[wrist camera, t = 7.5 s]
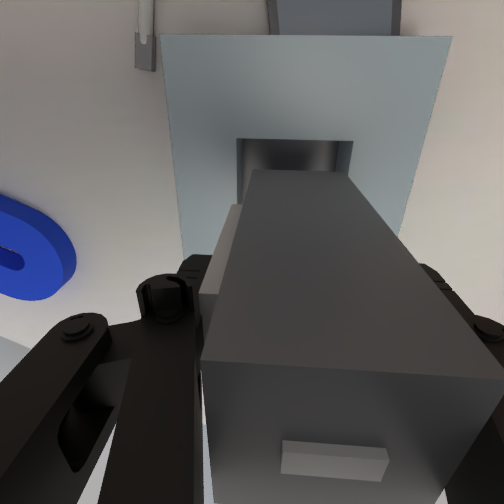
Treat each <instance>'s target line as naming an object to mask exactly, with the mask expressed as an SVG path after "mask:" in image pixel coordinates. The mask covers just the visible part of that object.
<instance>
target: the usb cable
mask: <svg viewBox="0 0 504 504" xmlns="http://www.w3.org/2000/svg"><path fill="white" fill-rule="evenodd" d="M153 6H154V0H139V31H138V33H135V68H138V69H142V70H147V71H152V72H155V57H156V38H155V37H153Z"/></svg>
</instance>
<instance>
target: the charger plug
mask: <svg viewBox="0 0 504 504" xmlns="http://www.w3.org/2000/svg"><path fill="white" fill-rule="evenodd" d="M200 364H201V374H202V384H203V395H204V405H205V415H206V425H207V435H208V446H209V456H210V466H211V477H212V486H213V497H214V503H217V504H435V502H436V501H437V499H438V497H439V496H440V494H441V493H442V491H443V489H444V488H445V486H446V485H447V483H448V482H449V480H450V479H451V477H452V475H453V474H454V472H455V471H456V469H457V468H458V466H459V464H460V463H461V461H462V460H463V458H464V457H465V455H466V453H467V452H468V450H469V449H470V447H471V446H472V444H473V442H474V441H475V439H476V438H477V436H478V435H479V433H480V431H481V430H482V428H483V427H484V425H485V424H486V422H487V420H488V419H489V417H490V416H491V414H492V413H493V411H494V409H495V408H496V406H497V405H498V403H499V402H500V400H501V398H502V397H503V395H504V368H503V367H502V366H501V365H500V363H499V362H498V361H497V360H496V358H495V357H494V356H493V355H492V354H491V352H490V351H489V350H488V349H487V347H486V346H485V345H484V344H483V342H482V341H481V340H480V339H479V337H478V336H477V335H476V334H475V333H474V331H473V330H472V329H471V328H470V326H469V325H468V324H467V323H466V321H465V320H464V319H463V318H462V316H461V315H460V314H459V313H458V311H457V310H456V309H455V308H454V307H453V305H452V304H451V303H450V302H449V300H448V299H447V298H446V297H445V295H444V294H443V293H442V292H441V290H440V289H439V288H438V287H437V286H436V284H435V283H434V282H433V281H432V279H431V278H430V277H429V276H428V274H427V273H426V272H425V271H424V269H423V268H422V267H421V266H420V265H419V263H418V262H417V261H416V260H415V258H414V257H413V256H412V255H411V253H410V252H409V251H408V250H407V248H406V247H405V246H404V245H403V243H402V242H401V241H400V240H399V239H398V237H397V236H396V235H395V234H394V232H393V231H392V230H391V229H390V227H389V226H388V225H387V224H386V222H385V221H384V220H383V219H382V218H381V216H380V215H379V214H378V213H377V211H376V210H375V209H374V208H373V206H372V205H371V204H370V203H369V201H368V200H367V199H366V198H365V197H364V195H363V194H362V193H361V192H360V190H359V189H358V188H357V187H356V185H355V184H354V183H353V182H352V180H351V179H350V178H349V177H348V175H347V174H346V173H345V172H332V171H299V170H266V169H253V170H252V174H251V178H250V181H249V185H248V188H247V192H246V196H245V199H244V203H243V207H242V210H241V214H240V217H239V221H238V225H237V228H236V232H235V235H234V239H233V243H232V246H231V250H230V254H229V257H228V261H227V264H226V268H225V272H224V275H223V279H222V283H221V286H220V290H219V293H218V297H217V301H216V304H215V308H214V312H213V315H212V319H211V322H210V326H209V330H208V333H207V337H206V340H205V344H204V348H203V351H202V355H201V359H200Z"/></svg>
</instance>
